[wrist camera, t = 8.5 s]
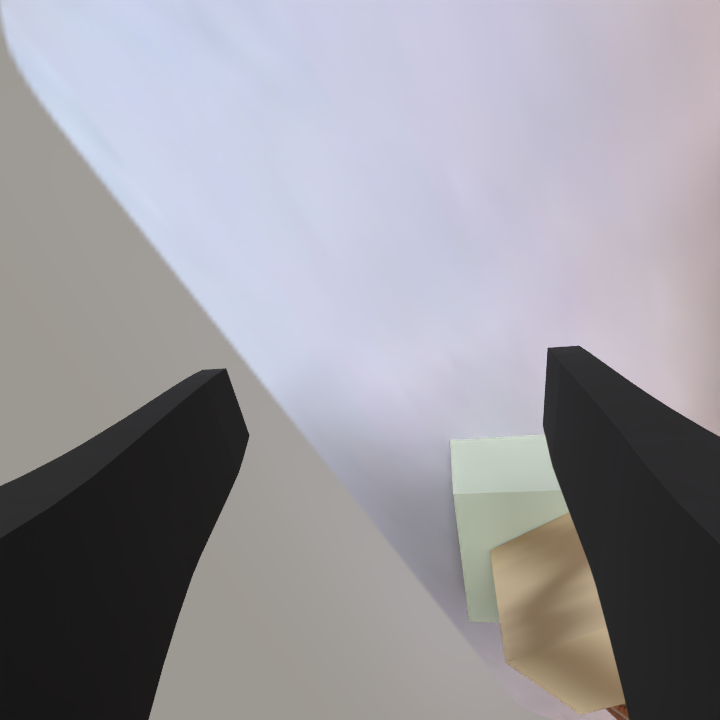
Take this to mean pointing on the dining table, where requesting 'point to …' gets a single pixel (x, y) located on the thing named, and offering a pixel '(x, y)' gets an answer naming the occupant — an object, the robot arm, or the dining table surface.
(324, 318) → the dining table surface
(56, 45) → the dining table surface
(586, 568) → the maple cube
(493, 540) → the sage base block
